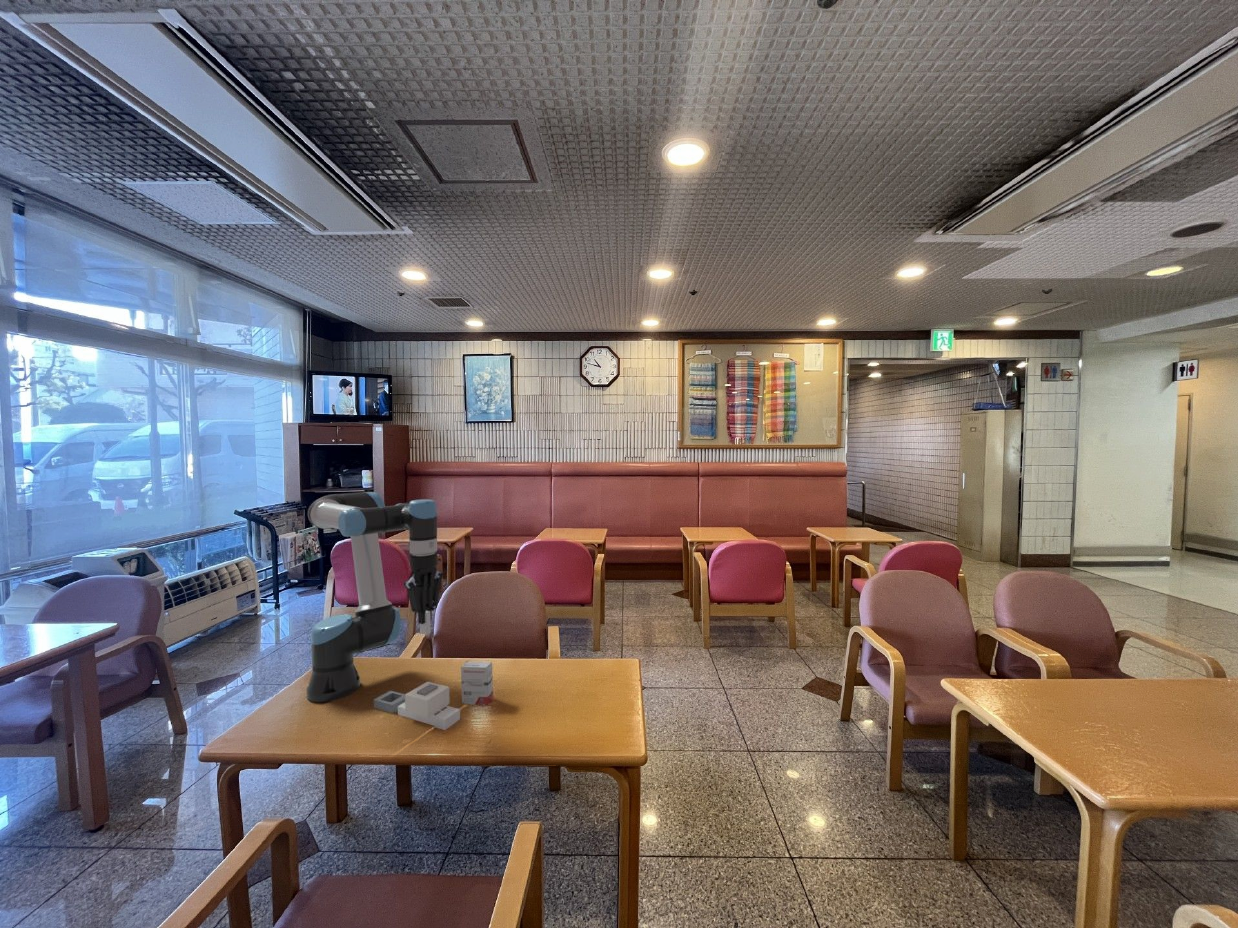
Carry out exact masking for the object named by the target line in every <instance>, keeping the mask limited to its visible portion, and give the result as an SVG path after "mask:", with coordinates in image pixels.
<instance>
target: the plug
mask: <svg viewBox="0 0 1238 928" xmlns="http://www.w3.org/2000/svg"><path fill="white" fill-rule="evenodd" d="M449 704H450V686H447V685H443V684H439V683H435V682H431V681H426V682H425V683H423V684H421V685H419V686H418V687H416V688H413V690H410V691H408V692H407V693H405V712H408V713H412V714H415V715H419V716H422V717H426V718H428V717H430V716H431V715H433V714H435V713H436V712H438V711H439V710H441V709H442V708H444V707H445V706H449Z"/></svg>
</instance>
